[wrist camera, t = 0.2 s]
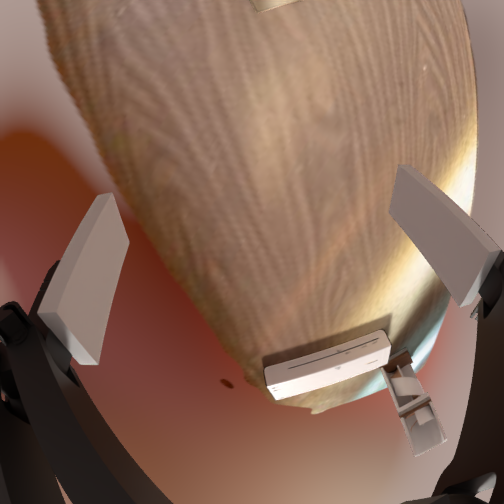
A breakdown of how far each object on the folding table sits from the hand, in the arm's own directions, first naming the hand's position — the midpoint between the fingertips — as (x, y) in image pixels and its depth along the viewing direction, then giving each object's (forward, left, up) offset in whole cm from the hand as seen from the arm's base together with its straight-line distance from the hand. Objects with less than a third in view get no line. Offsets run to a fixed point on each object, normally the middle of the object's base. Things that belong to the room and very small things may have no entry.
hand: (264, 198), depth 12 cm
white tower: (+78, +47, -28) cm, 95 cm away
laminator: (+65, +20, -28) cm, 74 cm away
